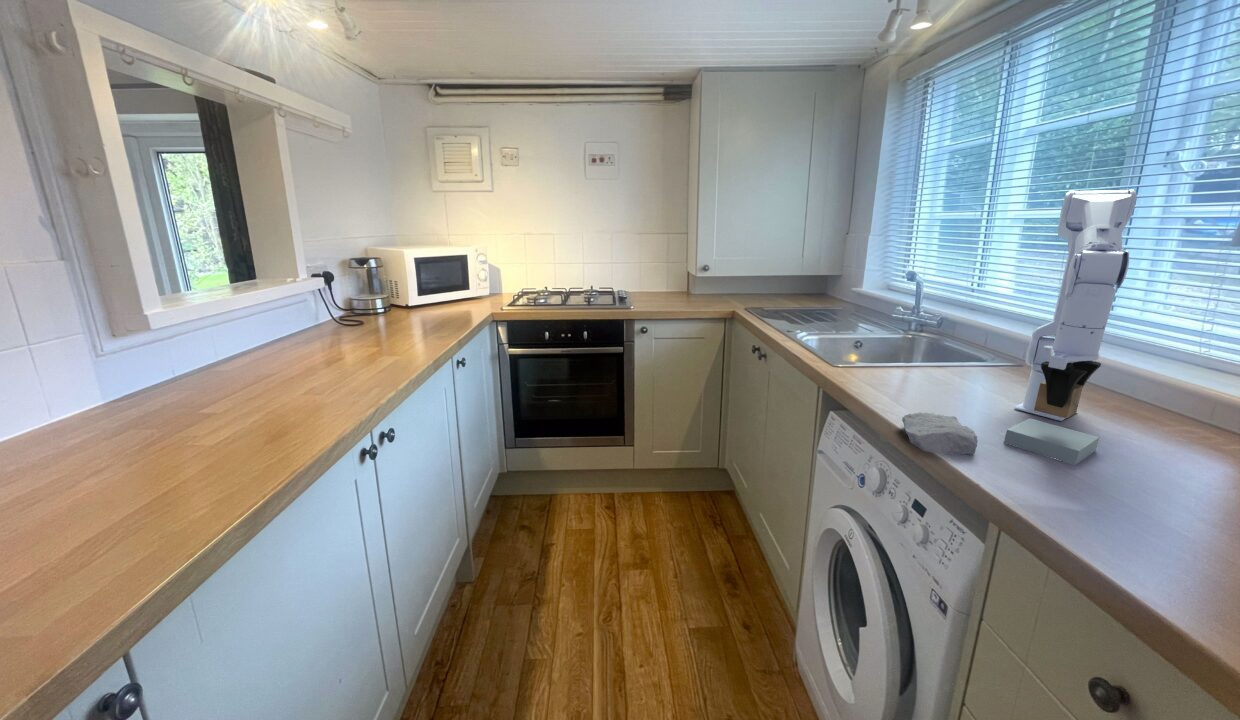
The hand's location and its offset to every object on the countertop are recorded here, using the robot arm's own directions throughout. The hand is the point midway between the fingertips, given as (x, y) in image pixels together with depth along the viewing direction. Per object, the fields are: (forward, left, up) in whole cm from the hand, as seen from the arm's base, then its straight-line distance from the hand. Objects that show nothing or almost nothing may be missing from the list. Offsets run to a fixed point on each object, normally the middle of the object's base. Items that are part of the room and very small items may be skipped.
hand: (1060, 402), depth 86 cm
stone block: (+15, -13, -9) cm, 21 cm away
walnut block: (0, -1, -2) cm, 2 cm away
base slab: (0, 0, -9) cm, 9 cm away
